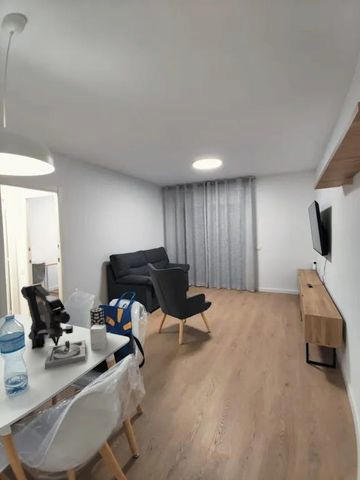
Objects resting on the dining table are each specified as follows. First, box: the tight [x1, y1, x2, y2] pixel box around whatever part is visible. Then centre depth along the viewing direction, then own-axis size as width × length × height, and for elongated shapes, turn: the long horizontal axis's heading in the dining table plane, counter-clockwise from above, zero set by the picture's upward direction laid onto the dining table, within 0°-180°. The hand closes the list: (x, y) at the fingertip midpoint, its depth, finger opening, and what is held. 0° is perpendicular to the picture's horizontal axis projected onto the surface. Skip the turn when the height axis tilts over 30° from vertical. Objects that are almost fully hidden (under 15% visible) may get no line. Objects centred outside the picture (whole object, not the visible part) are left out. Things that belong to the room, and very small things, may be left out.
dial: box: [53, 340, 80, 360], centre depth 140 cm, size 14×14×4 cm
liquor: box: [36, 295, 50, 331], centre depth 171 cm, size 9×9×30 cm
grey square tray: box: [44, 339, 87, 370], centre depth 140 cm, size 20×20×3 cm
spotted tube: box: [89, 307, 105, 328], centre depth 159 cm, size 8×8×20 cm
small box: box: [89, 324, 108, 351], centre depth 149 cm, size 8×6×13 cm
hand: (56, 345), depth 143 cm, fingers closed
